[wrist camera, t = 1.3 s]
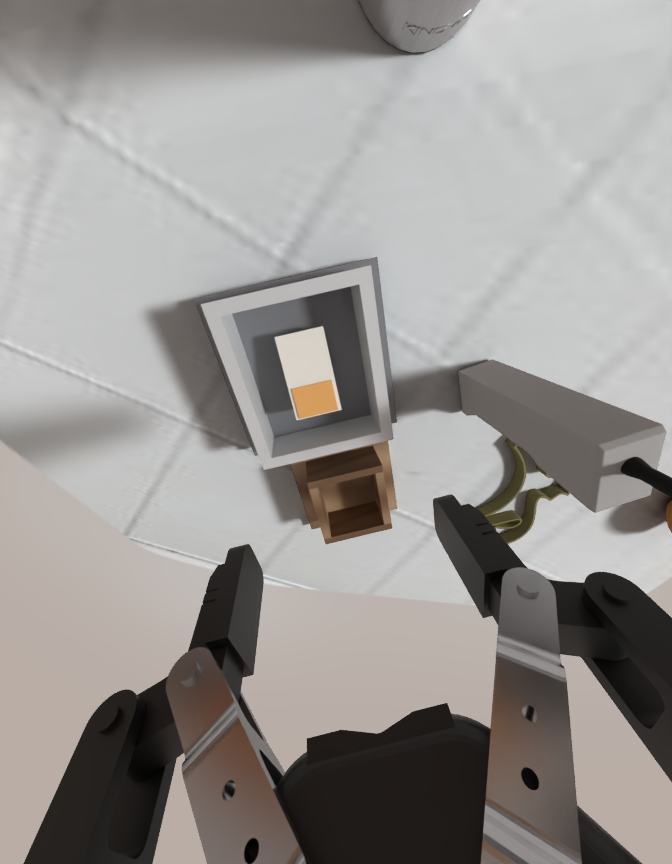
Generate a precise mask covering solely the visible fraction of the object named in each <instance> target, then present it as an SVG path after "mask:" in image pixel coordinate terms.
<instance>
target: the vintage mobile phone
mask: <svg viewBox="0 0 672 864" xmlns="http://www.w3.org/2000/svg"><path fill="white" fill-rule="evenodd" d="M458 376H459V385H460V394H461V403H462V411H463V413H464V414H466V415H477V416H478V417H479V418H481V419H482V420H483V421H485V422H486V423H488V424H489V425H490V426H492V427H493V428H494V429H496V430H497V431H499V432H500V433H501V434H503V435H504V436H506V437H507V438H508V439H510V440H511V441H512V442H514V443H515V444H517V445H518V446H519V447H521V448H522V449H523V450H525V451H526V452H528V454H529V455H530V456H531V457H532V459H533V460H534V461H535V463H536V464H537V465H538V466H539V467H540V468H541V469H542V470H543V471H545V472H546V473H547V474H548V475H549V476H551V477H552V478H553V479H554V480H555V481H556V482H558V483H559V484H560V485H561V486H562V487H564V488H565V489H566V490H567V491H568V492H569V493H571V494H572V495H573V496H574V497H575V498H576V499H578V500H579V501H580V502H581V503H582V504H584V505H585V506H586V507H587V508H588V509H590V510H591V511H593V512H595V513H596V512H599V511H602V510H605V509H609V508H612V507H615V506H618V505H621V504H625V503H628V502H631V501H634V500H637V499H641V498H644V497H647V496H650V495H651V491H652V487H654V488H656V489H658V490H659V491H661V492H663V493H665V494H666V495H668V496H670V497H672V478H671V477H669V476H667V475H665V474H663V473H661V472H659V471H657V468H658V464H659V460H660V456H661V452H662V448H663V444H664V440H665V436H666V430H665V428H664V426H663V425H662V424H660V423H657V422H655V421H652V420H649V419H647V418H644V417H642V416H639V415H636V414H634V413H631V412H628V411H626V410H623V409H621V408H618V407H615V406H613V405H610V404H607V403H605V402H602V401H600V400H597V399H594V398H592V397H589V396H587V395H584V394H581V393H579V392H576V391H573V390H571V389H568V388H566V387H563V386H560V385H558V384H555V383H553V382H550V381H547V380H545V379H542V378H539V377H537V376H534V375H532V374H529V373H526V372H524V371H521V370H519V369H516V368H513V367H511V366H508V365H505V364H503V363H500V362H498V361H495V360H489V361H486V362H483V363H480V364H477V365H474V366H471V367H468V368H465V369H462V370H459V371H458Z"/></svg>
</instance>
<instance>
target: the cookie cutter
mask: <svg viewBox="0 0 672 864" xmlns="http://www.w3.org/2000/svg"><path fill="white" fill-rule="evenodd" d="M505 442H506V443H507V444H508V445H509V447H510V448H511V450H512V452H513V454H514V458H515V465H516V466H515V473H514V476H513V479H512V481H511V483H510V484H509V486H508V487H507V488H506V490H505V491H504V492H503V493H502V494H501V495H499V496H498V497H497V498H495V499H494V500H492V501H491V502H489V503H487V504H485V505H483V506H480V507H477V508H476V509H478V510H480V511H481V512H482V513H483V515H484V516H485V517H486V518H487V519H488V521H489V523H490V524H492V526H493V527H494V528H495V529H496V528H499V529H510V528H512V529H511V530H509V531H507V532H504V533H502V534H500V536H501V537H502V538H503V539H504V541H505V542H506V543H507V544H509V543H511V542H514V541H516V540H518V539H520V538H521V537H523V536H524V535H525V534H526V533H527V532H528V531H529V530H530V528H531V527H532V525H533V523H534V519H535V514H536V506H537V502H538V500H539V499H540V498H546V499H548V500H549V501H550V500H553V499H554V498H555V497H557V496H558V495H560V494H564V495H567V496H568V495H569V494H570V493H569V492H568V491H567V490H566V489H565V488H564V487H562V486H561V485H560V484H559V485H558V486H556V485H551V486H549V487H547V488H546V489H544V490H543V491H540V490H538V489H531V490H529V492H528V493H527V496H526V504H525V511H524V515H523V517H522V519H521V518H520V517H519V516H518V515H517V514H516V513H515V512H514V511H513V510H510V511H505V512H501V513H497V514H493V513H495V512H497V511H499V510H501V509H502V508H504V507H505V506H507V505H508V504H509V503H510V502H511V501H512V500H513V499H514V498H515V497H516V496H517V495H518V493H519V492H520V490H521V489H522V487H523V484H524V482H525V478H526V465H525V461H524V458H523V456H522V454H521V453H520V451H519V450H518V448H517V446H518V445H517V444H515V443H514V442H512V441H511V440H510V439H507V440H506V441H505ZM536 467H537V470H539V471H540V472H541V473H543V474H544V475H545V476H547V477H548V478H552V477H551V476H549V475H548V474H547V473H546V472H545V471H543V470H542V469H541V468H540V467H539V466H538V465H537V464H536ZM491 514H493V515H491Z"/></svg>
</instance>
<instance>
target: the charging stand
mask: <svg viewBox="0 0 672 864" xmlns="http://www.w3.org/2000/svg"><path fill="white" fill-rule="evenodd" d="M290 465H291V468H292V471H293V474H294V477H295V480H296V483H297V486H298V489H299V492H300V495H301V498H302V501H303V504H304V507H305V510H306V513H307V516H308V519H309V522H310V525H311V528H312V529H315V528H319V527H321V531H322V534H323V537H324V540H325V543H326V544H329V543H333V542H337V541H342V540H346V539H350V538H354V537H358V536H362V535H366V534H370V533H375V532H379V531H383V530H387V529H391V528H392V524H391V518H390V510H394V509H397V503H396V496H395V489H394V482H393V475H392V468H391V460H390V453H389V446H388V441H384V442H380V443H376V444H371V445H367V446H363V447H359V448H355V449H350V450H346V451H342V452H338V453H334V454H329V455H325V456H321V457H317V458H313V459H308V460H304V461H300V462H296V463H292V464H290Z"/></svg>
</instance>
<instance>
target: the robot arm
mask: <svg viewBox="0 0 672 864" xmlns="http://www.w3.org/2000/svg"><path fill="white" fill-rule="evenodd" d="M359 1H360V3H361V6H362V8H363V11H364V13H365V15H366V16H367V18H368V19H369V21H370V23H371V24H372V26H373V27H374V29H375V30H376V31H377V32H378V33H379V34H380V35H381V36H382V37H383V38H384V39H385V40H386V41H387V42H388V43H390V44H392V45H393V46H395V47H397V48H398V49H401V50H405V51H408V52H412V53H415V52H427V51H430V50H432V49H435V48H438V47H440V46H442V45H443V44H444V43H446V42H447V41H448V40H450V39H451V38H453V37H454V36H455V34H456V33H457V32H458V31H459V30H460V29H461V28H462V27H463V25H464V24H465V23H466V21H467V20H468V18H469V17H470V15H471V14H472V12H473V11H474V9H475V8H476V6H477V4H478V3H479V1H480V0H359ZM433 507H434V520H435V529H436V532H437V535H438V538H439V540H440V542H441V543H442V545H443V547H444V549H445V551H446V552H447V554H448V556H449V558H450V560H451V561H452V563H453V565H454V567H455V569H456V570H457V572H458V574H459V576H460V578H461V579H462V581H463V583H464V585H465V586H466V588H467V590H468V592H469V594H470V595H471V597H472V599H473V601H474V603H475V604H476V606H477V608H478V610H479V612H480V613H481V615H482V617H483V618H485V617H488V616H493V617H494V619H495V621H496V622H497V624H498V638H497V651H496V665H495V678H494V690H493V703H492V717H491V729H490V728H488V727H487V726H484V725H483V724H481V723H480V722H478V721H475V720H473V719H471V718H468V717H465V716H461V715H455V714H451V713H450V710H449V707H448V705H447V703H445V704H442V705H437V706H433V707H429V708H425V709H421V710H418V711H414V712H412V713H410V714H409V715H407V716H406V717H404V718H403V719H401V720H400V721H398V722H397V723H395V724H394V725H392V726H391V727H389V728H388V729H387V730H385V731H383V732H382V733H378V734H374V733H365V732H356V731H347V730H339V731H335V732H331V733H327V734H324V735H320V736H316V737H312V738H308V739H307V752H306V753H304V754H303V755H302V756H301V757H299V758H298V759H297V760H296V761H295V762H294V763H293V764H292V765H291V766H290V767H289V769H288V770H287V771H286V772H284V770H283V768H282V766H281V765H280V763H279V761H278V759H277V758H276V756H275V755H274V753H273V751H272V750H271V748H270V747H269V745H268V743H267V741H266V739H265V737H264V735H263V733H262V732H261V729H260V728H259V725H258V723H257V722H256V720H255V718H254V716H253V714H252V712H251V710H250V708H249V706H248V704H247V702H246V700H245V698H244V696H243V694H242V693H241V684H242V677H246V676H250V675H253V673H254V664H255V655H256V646H257V637H258V628H259V619H260V610H261V601H262V591H263V572H262V569H261V566H260V564H259V562H258V560H257V558H256V556H255V554H254V552H253V550H252V548H251V546H250V545H249V544H246V545H242V546H238V547H234V548H230V549H229V551H228V553H227V557H226V561H225V564H222V565H218V566H217V568H216V570H215V571H214V573H213V574H212V576H211V577H210V580H209V583H208V586H207V590H206V594H205V596H204V600H203V605H202V606H201V610H200V613H199V617H198V620H197V623H196V627H195V630H194V634H193V637H192V641H191V644H190V647H189V650H188V652H187V653H185V654H184V655H183V656H182V657H181V658H180V659H179V660H178V661H177V662H176V663H175V665H174V666H173V668H172V669H171V671H170V673H169V675H168V677H166V678H165V679H163V680H162V681H160V682H158V683H157V684H155V685H153V686H152V687H150V688H148V689H147V690H145V691H143V692H142V693H140V694H138V695H136V694H135V693H134V692H133V691H131V690H122V691H119V692H117V693H115V694H113V695H112V696H110V697H109V698H108V699H107V700H105V701H104V702H103V703H102V704H101V705H100V706H99V707H98V709H97V710H96V711H95V712H94V714H93V715H92V716H91V718H90V720H89V721H88V723H87V725H86V727H85V729H84V732H83V734H82V736H81V738H80V740H79V742H78V745H77V747H76V749H75V751H74V754H73V756H72V758H71V760H70V762H69V765H68V767H67V769H66V771H65V773H64V776H63V778H62V780H61V782H60V784H59V787H58V789H57V791H56V793H55V795H54V798H53V800H52V802H51V804H50V806H49V809H48V811H47V813H46V815H45V818H44V820H43V822H42V824H41V826H40V829H39V831H38V833H37V835H36V837H35V840H34V842H33V844H32V846H31V848H30V851H29V853H28V855H27V857H26V859H25V862H24V864H152V862H153V858H154V854H155V850H156V845H157V841H158V837H159V832H160V828H161V824H162V819H163V815H164V811H165V806H166V802H167V798H168V793H169V789H170V785H171V780H172V776H173V772H174V767H175V763H176V758H177V757H179V756H180V755H181V754H183V753H184V754H185V761H184V762H183V764H182V774H183V779H184V782H185V786H186V789H187V793H188V797H189V800H190V804H191V807H192V811H193V814H194V818H195V822H196V825H197V828H198V832H199V836H200V839H201V842H202V847H203V850H204V853H205V857H206V861H207V864H642V863H641V862H639V860H637V859H636V858H635V857H634V856H633V855H632V854H631V853H630V852H629V851H627V850H626V849H625V848H624V847H623V846H622V845H620V843H618V842H617V841H616V840H615V839H614V838H613V837H612V836H611V835H610V834H608V833H607V832H606V831H605V830H604V829H603V828H602V827H601V826H600V825H598V824H597V823H596V822H595V821H594V820H593V819H592V818H591V817H589V816H588V815H587V814H586V813H585V812H584V811H583V810H582V809H581V808H580V807H578V806H577V801H576V789H575V776H574V764H573V752H572V740H571V729H570V716H569V705H568V692H567V681H566V673H565V669H564V666H562V665H561V660H560V654H564V655H572V656H580V657H581V658H582V659H583V660H584V662H585V663H586V664H587V666H588V667H589V669H590V670H591V671H592V672H593V674H594V676H595V677H596V678H597V680H598V681H599V682H600V684H601V685H602V687H603V688H604V689H605V691H606V692H607V693H608V695H609V696H610V698H611V699H612V700H613V702H614V703H615V704H616V706H617V707H618V709H619V710H620V711H621V713H622V714H623V715H624V717H625V718H626V719H627V721H628V722H629V724H630V725H631V726H632V728H633V729H634V731H635V732H636V733H637V735H638V736H639V738H640V739H641V740H642V742H643V743H644V744H645V746H646V747H647V748H648V750H649V751H650V753H651V754H652V755H653V757H654V758H655V760H656V761H657V762H658V764H659V765H660V766H661V768H662V769H663V771H664V772H665V773H666V775H667V776H668V777H669V779H670V780H671V781H672V618H671V617H670V616H669V615H668V614H667V613H666V612H665V611H664V610H663V609H661V608H660V607H659V606H658V605H657V604H656V603H655V602H654V601H653V600H652V599H651V598H650V597H648V596H647V595H646V594H645V593H644V592H643V591H642V590H641V589H640V588H639V587H638V586H636V585H635V584H634V583H632V582H631V581H629V580H627V579H625V578H623V577H621V576H618V575H615V574H612V573H607V572H595V573H592V574H590V575H588V576H587V577H586V579H585V582H584V583H577V582H562V581H553V580H549V579H546V578H545V577H544V576H542V575H541V574H539V573H538V572H536V571H534V570H531V569H528V568H527V567H526V566H525V565H524V564H523V563H522V562H521V560H520V559H519V558H518V557H517V555H516V554H515V553H514V552H513V550H512V549H511V548H510V547H509V545H508V544H507V543H506V542H505V541H504V539H503V538H502V537H501V536H500V534H499V533H498V532H496V529H495V528H494V527H493V526H492V524H490V523H489V521H488V519H487V518H486V517H485V516H484V515H483V513H482V512H481V511H480V510H478V509H476V508H475V507H473V506H472V505H470V504H466V505H462V506H461V505H460V504H459V502H458V501H457V500H456V498H455V497H454V496H453V495H447V496H443V497H439V498H435V499H433Z"/></svg>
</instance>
